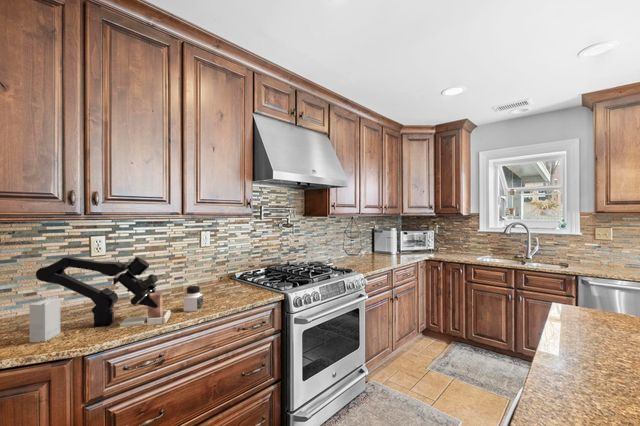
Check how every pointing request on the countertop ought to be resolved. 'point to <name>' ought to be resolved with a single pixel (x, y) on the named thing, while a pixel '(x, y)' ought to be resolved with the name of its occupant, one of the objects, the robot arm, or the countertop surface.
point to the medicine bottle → (193, 299)
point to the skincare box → (44, 320)
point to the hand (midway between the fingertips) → (158, 305)
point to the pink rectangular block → (158, 300)
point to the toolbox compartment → (159, 320)
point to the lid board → (134, 321)
